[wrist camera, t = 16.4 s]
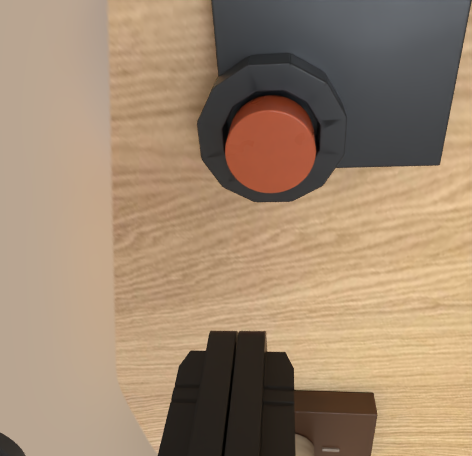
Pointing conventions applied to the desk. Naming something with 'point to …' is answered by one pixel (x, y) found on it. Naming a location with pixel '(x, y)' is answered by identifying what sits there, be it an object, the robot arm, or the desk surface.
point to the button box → (338, 79)
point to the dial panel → (336, 421)
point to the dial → (303, 446)
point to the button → (270, 144)
